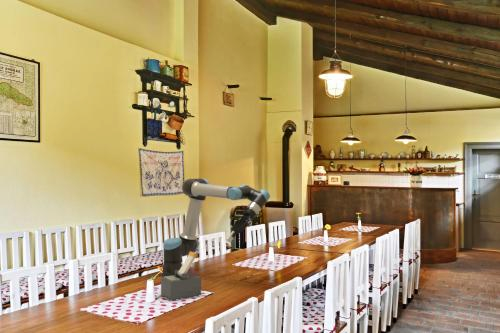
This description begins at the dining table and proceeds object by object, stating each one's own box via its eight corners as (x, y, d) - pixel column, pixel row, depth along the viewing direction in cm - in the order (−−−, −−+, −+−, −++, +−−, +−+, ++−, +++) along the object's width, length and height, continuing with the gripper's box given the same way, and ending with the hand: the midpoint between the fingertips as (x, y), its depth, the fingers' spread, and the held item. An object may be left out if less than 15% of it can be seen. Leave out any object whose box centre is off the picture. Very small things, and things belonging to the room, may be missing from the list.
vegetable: (183, 293, 262) (177, 269, 259) (181, 286, 272) (176, 263, 269) (201, 287, 264) (195, 264, 262) (198, 281, 274) (193, 258, 271)
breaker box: (160, 295, 246) (161, 271, 246) (190, 290, 256) (190, 267, 256) (170, 300, 235) (170, 276, 235) (201, 295, 245) (201, 272, 245)
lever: (176, 274, 248) (189, 251, 253) (178, 275, 249) (192, 252, 254) (181, 276, 242) (195, 253, 247) (184, 278, 243) (198, 254, 248)
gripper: (261, 216, 268) (237, 246, 258) (249, 214, 278) (226, 243, 269) (254, 207, 265) (229, 238, 255) (242, 206, 276) (218, 235, 266)
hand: (228, 240), depth 262 cm, fingers closed
